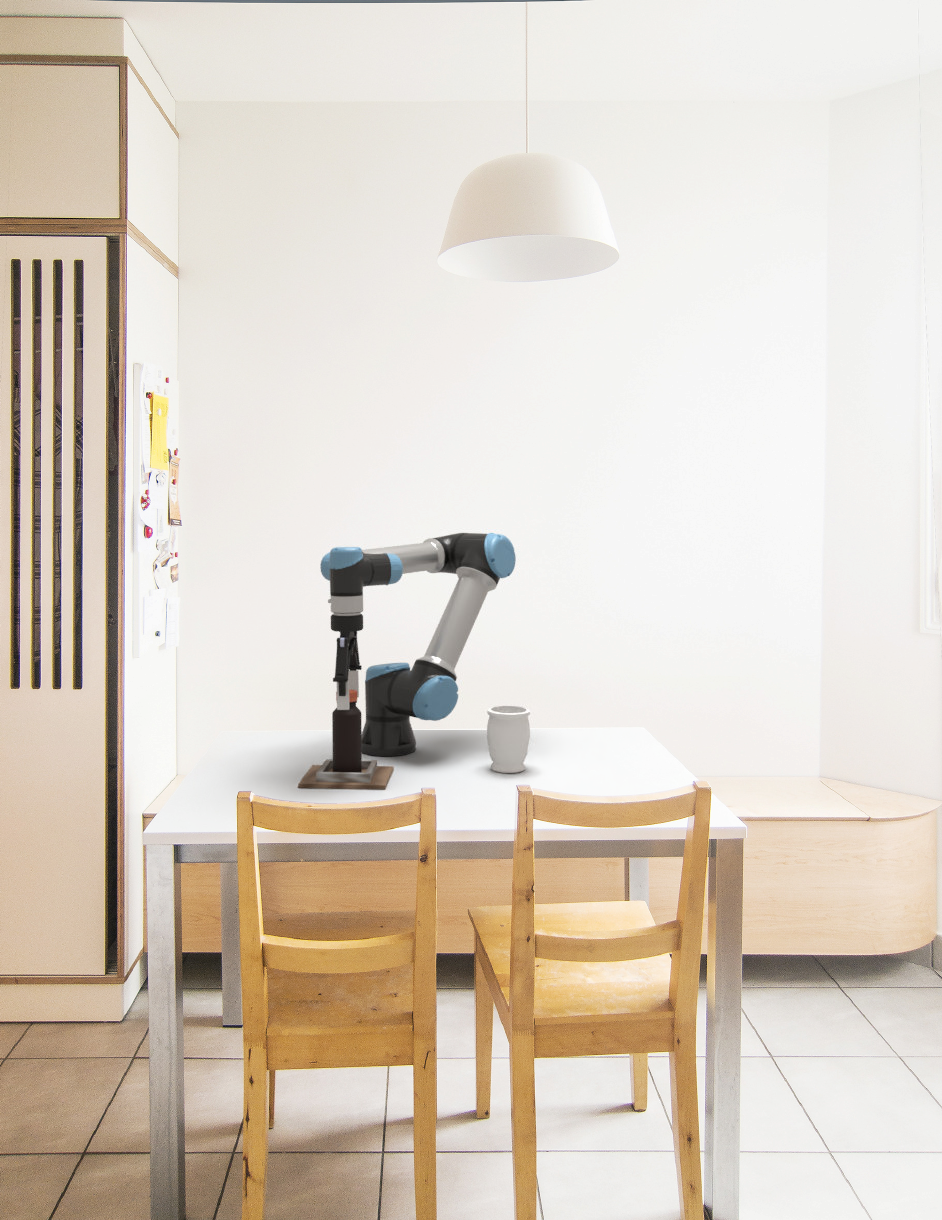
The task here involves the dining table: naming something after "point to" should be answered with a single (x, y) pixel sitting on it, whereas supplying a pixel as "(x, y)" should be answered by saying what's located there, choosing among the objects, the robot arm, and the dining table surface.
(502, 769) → the jar
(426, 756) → the dining table surface
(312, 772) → the tray
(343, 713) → the vinegar
